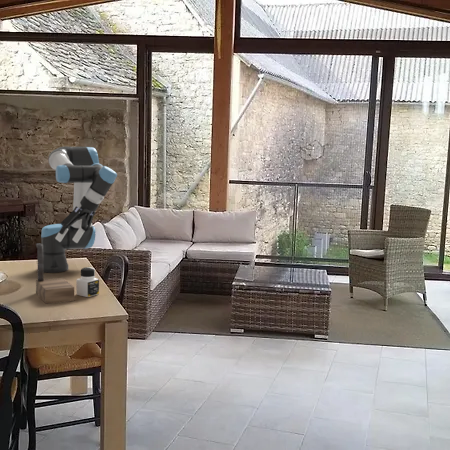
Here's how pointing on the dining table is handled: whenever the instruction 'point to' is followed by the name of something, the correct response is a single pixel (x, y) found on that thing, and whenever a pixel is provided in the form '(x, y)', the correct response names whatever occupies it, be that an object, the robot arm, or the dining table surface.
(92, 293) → the medicine bottle
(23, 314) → the dining table surface
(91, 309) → the dining table surface
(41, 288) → the wooden stand
